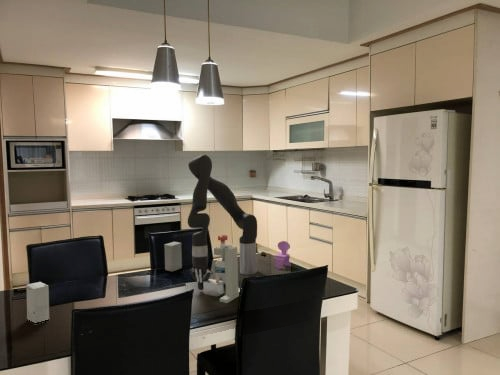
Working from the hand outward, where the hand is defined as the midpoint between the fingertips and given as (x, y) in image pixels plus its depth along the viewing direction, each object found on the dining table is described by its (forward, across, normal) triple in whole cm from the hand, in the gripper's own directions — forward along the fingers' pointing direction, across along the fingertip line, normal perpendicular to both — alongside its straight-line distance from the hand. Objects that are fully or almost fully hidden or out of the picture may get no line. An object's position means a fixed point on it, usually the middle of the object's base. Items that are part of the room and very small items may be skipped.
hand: (201, 289), depth 191 cm
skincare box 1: (+1, -39, -58) cm, 70 cm away
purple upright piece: (+1, +17, +56) cm, 59 cm away
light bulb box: (+1, +1, +19) cm, 19 cm away
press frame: (+1, +15, 0) cm, 16 cm away
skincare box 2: (+1, -39, +26) cm, 47 cm away
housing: (+1, +7, 0) cm, 7 cm away
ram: (-13, +13, 0) cm, 19 cm away
